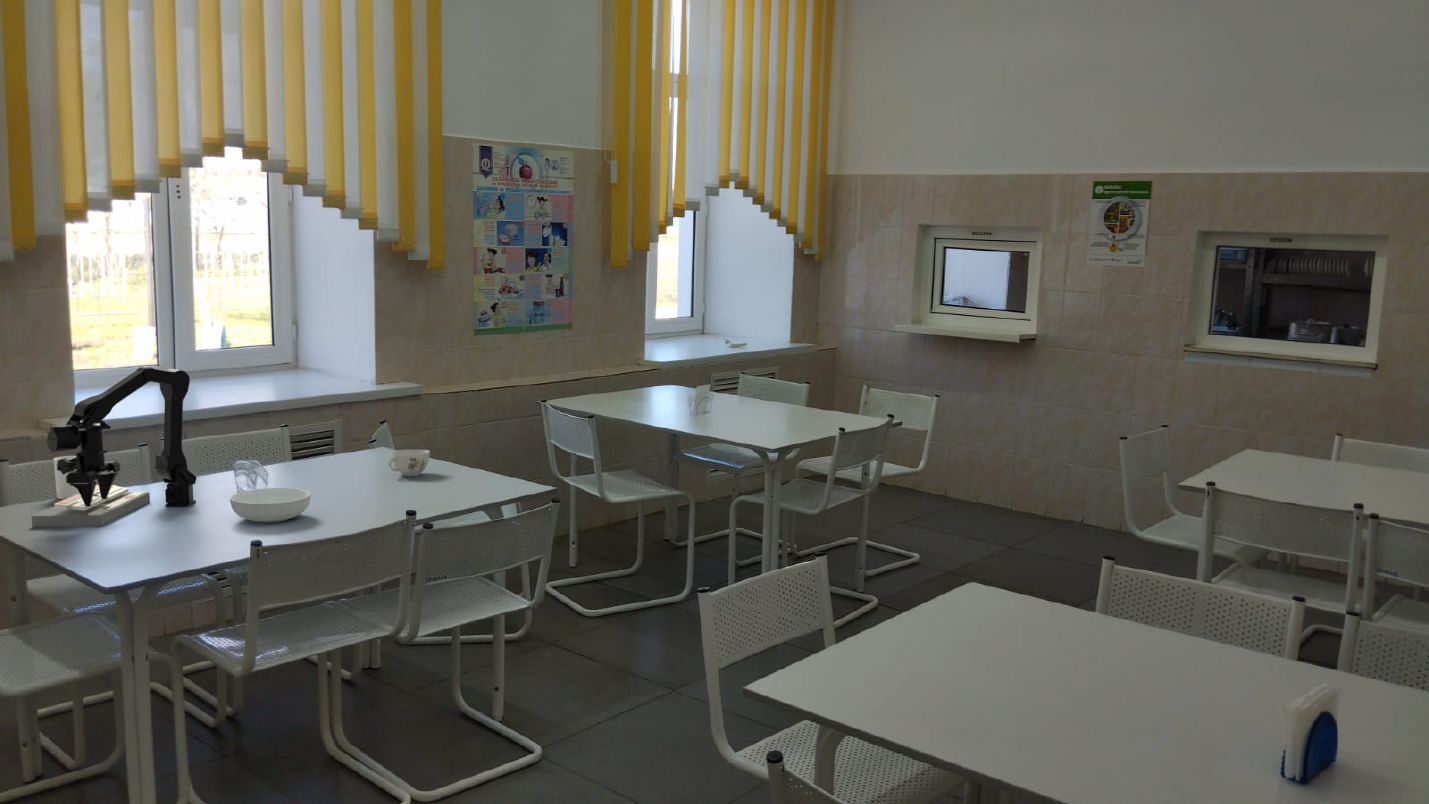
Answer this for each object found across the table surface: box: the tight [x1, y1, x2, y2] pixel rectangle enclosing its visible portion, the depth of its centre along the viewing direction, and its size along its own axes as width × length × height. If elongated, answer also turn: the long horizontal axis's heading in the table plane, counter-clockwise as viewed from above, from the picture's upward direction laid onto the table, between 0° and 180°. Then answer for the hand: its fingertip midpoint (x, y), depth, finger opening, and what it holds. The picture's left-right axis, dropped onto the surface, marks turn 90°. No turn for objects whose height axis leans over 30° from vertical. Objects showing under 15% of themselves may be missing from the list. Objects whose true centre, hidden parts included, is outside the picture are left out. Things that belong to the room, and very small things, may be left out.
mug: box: [53, 455, 80, 500], centre depth 338 cm, size 10×7×12 cm, turn 156°
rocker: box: [53, 494, 106, 511], centre depth 308 cm, size 8×12×1 cm, turn 4°
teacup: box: [388, 449, 431, 478], centre depth 375 cm, size 15×12×8 cm
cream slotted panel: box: [93, 484, 129, 500], centre depth 322 cm, size 8×12×1 cm, turn 4°
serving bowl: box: [229, 487, 311, 524], centre depth 312 cm, size 21×21×7 cm
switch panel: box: [31, 491, 151, 528], centre depth 316 cm, size 18×30×4 cm, turn 4°
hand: (96, 502), depth 309 cm, fingers open, 9 cm apart
